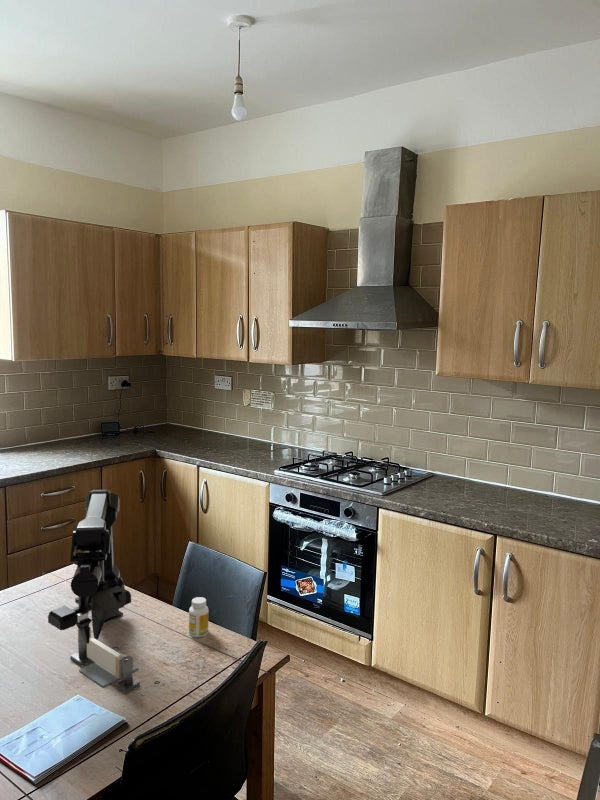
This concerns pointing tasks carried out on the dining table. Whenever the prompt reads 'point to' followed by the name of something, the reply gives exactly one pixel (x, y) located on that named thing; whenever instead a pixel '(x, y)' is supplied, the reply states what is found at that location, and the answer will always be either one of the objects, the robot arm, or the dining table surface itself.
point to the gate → (105, 657)
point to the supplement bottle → (198, 617)
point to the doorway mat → (100, 674)
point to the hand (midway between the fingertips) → (91, 640)
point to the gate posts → (127, 666)
